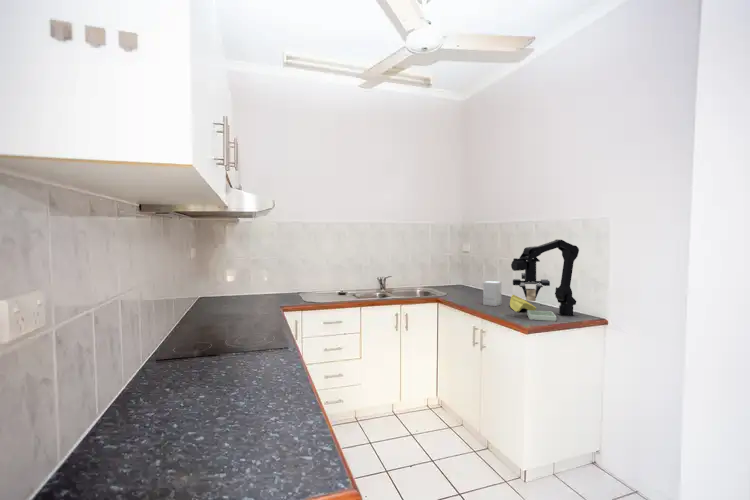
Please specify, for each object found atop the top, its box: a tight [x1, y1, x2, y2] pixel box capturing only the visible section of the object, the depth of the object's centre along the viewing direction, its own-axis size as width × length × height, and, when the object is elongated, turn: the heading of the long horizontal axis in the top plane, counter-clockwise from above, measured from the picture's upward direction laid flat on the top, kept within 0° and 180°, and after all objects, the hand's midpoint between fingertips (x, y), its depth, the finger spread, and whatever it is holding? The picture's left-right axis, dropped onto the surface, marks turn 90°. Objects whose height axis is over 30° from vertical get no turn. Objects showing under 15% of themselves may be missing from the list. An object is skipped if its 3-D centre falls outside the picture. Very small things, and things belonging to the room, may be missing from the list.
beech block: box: [525, 288, 537, 302], centre depth 205 cm, size 4×4×6 cm
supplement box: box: [482, 280, 502, 307], centre depth 241 cm, size 9×9×15 cm
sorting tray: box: [526, 309, 557, 322], centre depth 203 cm, size 13×13×2 cm
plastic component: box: [509, 294, 537, 313], centre depth 226 cm, size 20×7×10 cm
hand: (530, 297), depth 205 cm, fingers closed on beech block, 4 cm apart
